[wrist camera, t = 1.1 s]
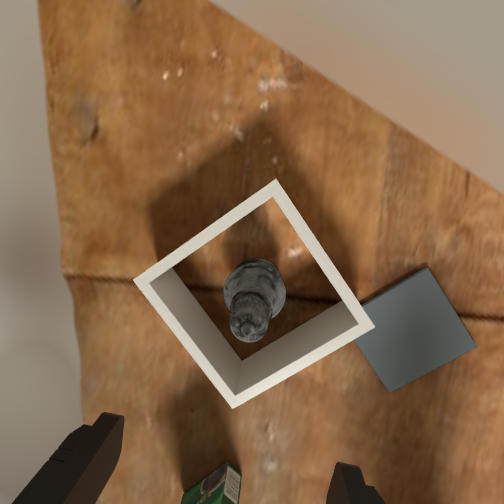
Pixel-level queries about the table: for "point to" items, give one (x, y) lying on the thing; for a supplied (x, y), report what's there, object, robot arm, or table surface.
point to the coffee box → (216, 488)
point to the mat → (412, 331)
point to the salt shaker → (253, 298)
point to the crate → (273, 355)
